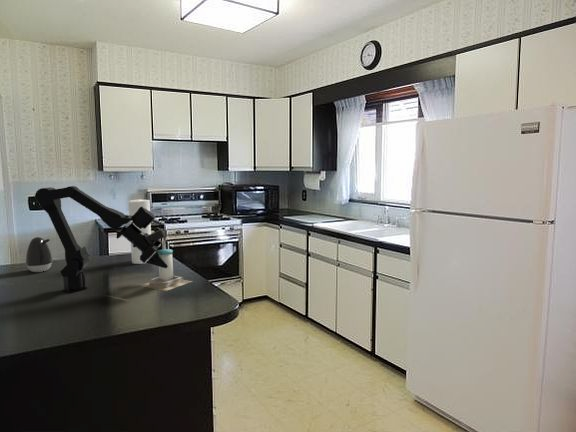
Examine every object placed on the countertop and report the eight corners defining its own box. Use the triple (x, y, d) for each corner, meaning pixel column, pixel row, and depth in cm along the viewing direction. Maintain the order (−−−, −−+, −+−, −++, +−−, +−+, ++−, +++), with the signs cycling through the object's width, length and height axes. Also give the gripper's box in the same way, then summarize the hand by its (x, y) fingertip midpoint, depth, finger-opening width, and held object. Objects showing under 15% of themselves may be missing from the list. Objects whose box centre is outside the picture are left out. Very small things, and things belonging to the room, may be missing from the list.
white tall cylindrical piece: (166, 286, 156) (164, 252, 154) (155, 284, 158) (154, 251, 157) (177, 282, 161) (175, 249, 159) (166, 280, 163) (165, 248, 162)
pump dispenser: (44, 273, 177) (42, 239, 175) (21, 273, 177) (18, 239, 176) (58, 268, 187) (55, 235, 186) (35, 268, 188) (33, 235, 186)
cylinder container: (155, 259, 203) (152, 198, 199) (147, 263, 194) (144, 200, 190) (137, 259, 204) (134, 198, 200) (128, 263, 195) (124, 200, 191)
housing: (166, 292, 150) (165, 285, 150) (139, 286, 157) (139, 280, 157) (192, 282, 162) (192, 276, 162) (167, 278, 169) (166, 272, 169)
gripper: (147, 225, 147) (180, 254, 150) (155, 218, 165) (184, 244, 168) (125, 248, 146) (159, 276, 149) (136, 239, 165) (165, 264, 168)
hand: (168, 264), depth 159 cm, fingers open, 9 cm apart
